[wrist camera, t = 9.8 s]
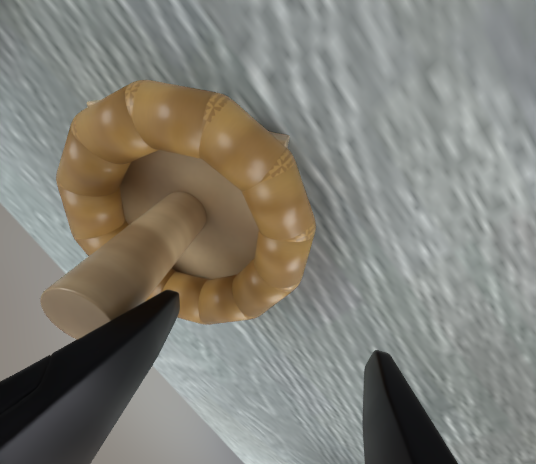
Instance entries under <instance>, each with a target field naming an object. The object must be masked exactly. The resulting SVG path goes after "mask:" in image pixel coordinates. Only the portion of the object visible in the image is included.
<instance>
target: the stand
mask: <svg viewBox="0 0 536 464" xmlns="http://www.w3.org/2000/svg"><path fill="white" fill-rule="evenodd" d="M98 101H100V100H95V101H88V102H87V106H88V107H89V106H91V105H93V104H95V103H96V102H98ZM268 132H270V131H268ZM270 133H271V134H272V135H273V136H274V137H275V138H276V139H277V140H279V141H280V142H281V143H282V144H283V145H284V146H285V147H286V148H288V143H289V135H285V134H280V133H275V132H270ZM120 192H121V198H122V204H123V211H124V217H125V220H126V222H127V223H128V224H129V225H128V226H127V227H126V228H125V229H123V230H122V231H121V232H119V233H118V234H117V235H116V236H114V237H113V238H112V239H110V240H109V241H108V242H107V243H105V244H104V245H103V246H101V247H100V248H99V249H98V250H96V251H95V252H94V253H92V254H91V255H90V256H89V257H87V258H86V259H85V260H83V261H82V262H81V263H80V264H78V265H77V266H76V267H74V268H73V269H72V270H71V271H69V272H68V273H67V274H65V275H64V276H63V277H62V278H60V279H59V280H58V281H56V282H55V283H54V284H53V285H51V286H50V287H49V288H47V289H46V290H45V291H44V292H43V294H42V296H41V306H42V309H43V311H44V313H45V314H46V316H47V317H48V318H49V319H50V321H51V322H52V323H53V324H54V325H56V326H57V327H58V328H59V329H60V330H62V331H63V332H64V333H66V334H68V335H69V336H71V337H73V338H75V339H79V338H81V337H83V336H84V335H86V334H88V333H90V332H92V331H93V330H95V329H97V328H99V327H100V326H102V325H104V324H106V323H108V322H109V321H111V320H113V319H115V318H116V317H118V316H120V315H122V314H124V313H125V312H127V311H129V310H131V309H132V308H134V307H136V306H138V305H140V304H141V303H143V302H145V301H146V299H147V298H148V297H149V296H150V294H151V293H152V292H153V291H154V289H155V288H156V287H157V286H158V284H159V283H160V282H161V281H162V279H163V278H164V277H165V276H166V274H167V273H168V272H169V271H170V269H171V268H172V269H174V270H175V271H177V272H181V273H185V274H189V275H193V276H197V277H201V278H205V279H209V280H211V279H216V278H222V277H227V276H232V275H237V274H238V273H240V272H241V271H242V270H243V269H244V268H245V267H246V266H247V265H248V264H249V263H250V262H251V261H252V260H253V259H254V258H255V252H256V246H257V239H258V232H259V229H258V227H257V225H256V222H255V220H254V218H253V216H252V213H251V211H250V209H249V207H248V205H247V202H246V200H245V198H244V196H243V194H242V191H241V190H239V189H238V188H237V187H236V186H234V185H233V184H232V183H231V182H230V181H228V180H227V179H226V178H225V177H223V176H222V175H221V174H220V173H218V172H217V171H216V170H215V169H213V168H212V167H211V166H210V165H209V164H207V163H206V162H205V161H204V160H202V159H200V158H195V157H190V156H186V155H181V154H176V153H171V152H167V151H162V150H157V151H155V152H153V153H150V154H148V155H146V156H143V157H141V158H139V159H136V160H134V161H132V162H131V163H130V165H129V168H128V170H127V172H126V174H125V176H124V178H123V180H122V182H121V184H120Z"/></svg>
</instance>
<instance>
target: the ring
mask: <svg viewBox="0 0 536 464" xmlns="http://www.w3.org/2000/svg"><path fill="white" fill-rule="evenodd" d="M157 150H162V151H167V152H171V153H176V154H181V155H186V156H190V157H195V158H200V159H202V160H204V161H205V162H206V163H207V164H209V165H210V166H211V167H212V168H213V169H215V170H216V171H217V172H218V173H220V174H221V175H222V176H223V177H225V178H226V179H227V180H228V181H230V182H231V183H232V184H233V185H234V186H236V187H237V188H238V189H239V190H241V191H242V194H243V196H244V198H245V200H246V202H247V205H248V207H249V209H250V211H251V213H252V216H253V218H254V220H255V222H256V225H257V227H258V229H259V232H258V239H257V246H256V252H255V258H254V259H253V260H252V261H251V262H250V263H249V264H248V265H247V266H246V267H245V268H244V269H243V270H242V271H241V272H240V273H238V274H237V275H232V276H227V277H222V278H216V279H211V280H209V279H205V278H201V277H197V276H193V275H189V274H185V273H181V272H177V271H175V270H174V269H172V268H171V269H170V271H169V272H168V273H167V274H166V276H165V277H164V278H163V279H162V281H161V282H160V283H159V284H158V286H157V287H156V288H155V289H154V291H153V292H152V293H151V294H150V296H149V297H148V298H147V299H146V301H147V300H148V299H150V298H152V297H154V296H156V295H157V294H159V293H161V292H163V291H165V290H168V289H169V290H173V291H176V292H178V293H179V298H180V311H179V314H178V317H177V318H181V319H185V320H189V321H193V322H196V323H200V324H217V323H225V322H233V321H241V320H249V319H254V318H257V317H259V316H260V315H262V314H263V313H264V312H266V311H267V310H268V309H270V308H271V307H272V306H274V305H275V304H276V303H278V302H279V301H280V300H281V299H283V298H284V297H285V296H287V295H288V294H289V293H291V292H292V291H293V290H294V289H296V287H297V286H298V285H299V283H300V282H301V279H302V276H303V273H304V269H305V266H306V262H307V259H308V255H309V252H310V248H311V245H312V241H313V237H314V234H315V229H316V223H315V218H314V215H313V212H312V209H311V206H310V203H309V200H308V197H307V194H306V191H305V188H304V185H303V182H302V179H301V176H300V174H299V171H298V168H297V165H296V162H295V159H294V157H293V155H292V154H291V152H290V151H289V150H288V149H287V148H286V147H285V146H284V145H283V144H282V143H281V142H280V141H279V140H277V139H276V138H275V137H274V136H273V135H272V134H271V133H270V132H268V131H267V130H266V129H265V128H264V127H263V126H262V125H261V124H259V123H258V122H257V121H256V120H255V119H254V118H253V117H251V116H250V115H249V114H248V113H247V112H246V111H245V110H244V109H242V108H241V107H240V106H239V105H238V104H237V103H236V102H234V101H233V100H232V99H231V98H229V97H228V96H225V95H223V94H220V93H216V92H211V91H205V90H200V89H195V88H189V87H184V86H179V85H173V84H168V83H162V82H157V81H152V80H139V81H135V82H133V83H130V84H129V85H127V86H125V87H123V88H121V89H120V90H118V91H116V92H114V93H113V94H111V95H109V96H107V97H105V98H104V99H102V100H100V101H98V102H96V103H95V104H93V105H91V106H89V107H88V108H86V109H84V110H82V111H81V112H79V113H78V114H77V115H76V116H75V118H74V119H73V121H72V123H71V126H70V130H69V133H68V136H67V140H66V143H65V147H64V150H63V153H62V157H61V160H60V164H59V167H58V170H57V176H56V181H57V185H58V189H59V192H60V196H61V199H62V202H63V206H64V209H65V212H66V216H67V219H68V222H69V226H70V229H71V233H72V235H73V237H74V239H75V240H76V241H77V242H78V244H79V245H80V246H81V247H82V249H83V250H84V251H85V252H86V254H87V255H88V256H90V255H91V254H92V253H94V252H95V251H96V250H98V249H99V248H100V247H101V246H103V245H104V244H105V243H107V242H108V241H109V240H110V239H112V238H113V237H114V236H116V235H117V234H118V233H119V232H121V231H122V230H123V229H125V228H126V227H127V226H128V225H129V224H128V223H127V222H126V220H125V217H124V211H123V204H122V198H121V192H120V184H121V182H122V180H123V178H124V176H125V174H126V172H127V170H128V168H129V165H130V163H131V162H132V161H134V160H136V159H139V158H141V157H143V156H146V155H148V154H150V153H153V152H155V151H157Z"/></svg>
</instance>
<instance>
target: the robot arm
mask: <svg viewBox="0 0 536 464" xmlns="http://www.w3.org/2000/svg"><path fill="white" fill-rule="evenodd" d="M179 311H180V298H179V293H178V292H176V291H173V290H169V289H168V290H165V291H163V292H161V293H159V294H157V295H156V296H154V297H152V298H150V299H148V300H147V301H145V302H143V303H141V304H140V305H138V306H136V307H134V308H132V309H131V310H129V311H127V312H125V313H124V314H122V315H120V316H118V317H116V318H115V319H113V320H111V321H109V322H108V323H106V324H104V325H102V326H100V327H99V328H97V329H95V330H93V331H92V332H90V333H88V334H86V335H84V336H83V337H81V338H79V339H77V340H75V341H74V342H72V343H70V344H68V345H67V346H65V347H63V348H61V349H59V350H58V351H56V352H54V353H53V354H52V355H51V356H50V355H49V356H47V357H45V358H43V359H42V360H40V361H38V362H36V363H34V364H33V365H31V366H29V367H27V368H25V369H23V370H21V371H20V372H18V373H16V374H14V375H12V376H10V377H9V378H6V379H4V380H2V381H1V382H0V464H90V463H91V462H92V460H93V459H94V457H95V455H96V454H97V452H98V451H99V449H100V447H101V446H102V444H103V443H104V441H105V439H106V438H107V436H108V435H109V433H110V432H111V430H112V428H113V427H114V425H115V424H116V422H117V421H118V419H119V417H120V416H121V414H122V413H123V411H124V409H125V408H126V406H127V405H128V403H129V402H130V400H131V398H132V397H133V395H134V394H135V392H136V390H137V389H138V387H139V386H140V384H141V383H142V381H143V379H144V378H145V376H146V375H147V373H148V371H149V370H150V368H151V367H152V365H153V363H154V362H155V360H156V358H157V357H158V355H159V353H160V351H161V349H162V347H163V345H164V343H165V341H166V339H167V337H168V335H169V333H170V331H171V329H172V327H173V325H174V323H175V321H176V319H177V317H178V314H179ZM363 441H364V456H365V464H458V463H457V461H456V460H455V458H454V456H453V455H452V453H451V452H450V450H449V448H448V447H447V445H446V444H445V442H444V440H443V439H442V437H441V436H440V434H439V432H438V431H437V429H436V428H435V426H434V424H433V423H432V421H431V419H430V418H429V416H428V415H427V413H426V411H425V410H424V408H423V407H422V405H421V403H420V402H419V400H418V399H417V397H416V395H415V394H414V392H413V391H412V389H411V387H410V386H409V384H408V383H407V381H406V379H405V378H404V376H403V375H402V373H401V371H400V370H399V368H398V367H397V365H396V363H395V362H394V360H393V359H392V357H391V356H390V355H389V354H388V353H386V352H382V351H379V350H375V351H374V352H373V354H372V355H371V357H370V359H369V360H368V362H367V364H366V366H365V371H364V394H363Z"/></svg>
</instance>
